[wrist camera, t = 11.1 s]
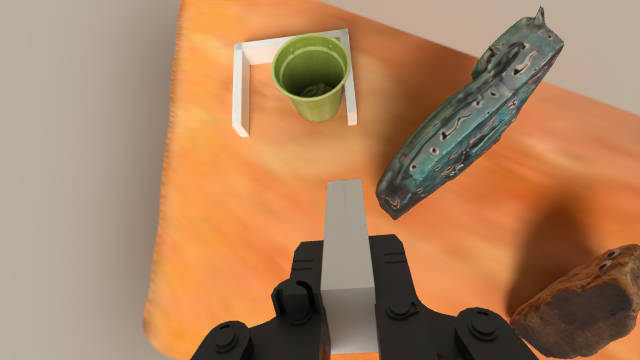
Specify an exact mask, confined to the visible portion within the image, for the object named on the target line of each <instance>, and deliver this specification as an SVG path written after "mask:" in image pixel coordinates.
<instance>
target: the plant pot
mask: <svg viewBox="0 0 640 360" xmlns="http://www.w3.org/2000/svg"><path fill="white" fill-rule="evenodd" d="M349 72H350V57H349V54H348V52H347V50H346V48H345V47H344V46H343V45H342V44H341V43H340V42H339V41H338V40H336V39H335V38H333V37H331V36H328V35H325V34H319V33H307V34H302V35H299V36H296V37H294V38H292V39H290V40H288V41H287V42H286V43H284V44H283V45H282V46H281V47H280V48H279V50H278V51H277V53H276V54H275V56H274V58H273V61H272V67H271V73H272V78H273V80H274V83H275V84H276V86H277V87H278V89H279V90H280V91H281V92H282V93H284V94H285V95H287V96H288V97H289V98H290V99H291V101H292V102H293V104H294V105H295V107H296V108H297V110H298V112H299V113H300V115H301V116H302V117H303V118H305V119H306V120H308V121H315V122H323V121H326V120H328V119H330V118H331V117H333V116H334V115H335V114H336V112H337V111H338V108H339V105H340V99H341V93H342V87H343V84H344V83H345V81H346V79H347V78H348V75H349ZM309 90H313V91H312V92H309V93H308V94H307V95H305V93H306V92H308V91H309ZM328 91H330V92H328Z"/></svg>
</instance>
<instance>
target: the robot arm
mask: <svg viewBox="0 0 640 360" xmlns="http://www.w3.org/2000/svg"><path fill="white" fill-rule="evenodd" d="M271 298H272V301H273V305H274V309H275V312H276V317H274V318H273V319H271V320H270V321H267V322H265V323H263V324H260V325H257V326H254V327H251V328H248V327H247V326H246V325H245V324H244V323H242V322H240V321H227V322H224V323H221V324H219V325H218V326H216V327H215V328H213V329H212V330H211V331H210V332H209V333H208V334H207V336H206V337H205V338H204V340H203V341H202V343H201V344H200V346H199V347H198V349H197V350H196V352H195V353H194V355H193V356H192V358H191V359H190V360H330V351H331V353H332V354H346V353H373V352H379V359H380V360H539V359H538V358H537V357H536V355H535V354H534V353H533V352H532V351H531V350H530V348H529V347H528V346H527V345H526V344H525V342H524V341H523V340H522V339H521V338H520V337H519V335H518V334H517V333H516V332H515V331H514V330H513V328H512V327H511V326H510V325H509V324H508V322H507V321H505V320H504V319H503V318H502V317H501V316H500V315H499V314H497V313H495V312H493V311H490V310H488V309H484V308H479V307H475V308H467V309H465V310H463V311H461V312H460V313H459V314H458V316H457V317H455V316H450V315H446V314H441V313H438V312H435V311H433V310H431V309H429V308H427V307H426V306H425V305H424V304H422V303H421V301H420V300H419V299H418V297H417V295H416V292H415V288H414V284H413V281H412V277H411V273H410V269H409V266H408V263H407V258H406V254H405V251H404V247H403V243H402V242H401V241H400V240H399V239H398V237H397V236H396V235H395V234H390V235H376V236H368V231H367V223H366V215H365V207H364V199H363V191H362V183H361V179H352V180H341V181H331V182H328V187H327V202H326V217H325V231H324V240H321V241H308V242H301V243H300V245H299V246H298V247H297V249H296V250H295V252H294V258H293V263H292V268H291V274H290V279H287V280H285V281H283V282H281V283H280V284H279V285H278V286H277V287H276V288H274V290H273V292H272V294H271Z"/></svg>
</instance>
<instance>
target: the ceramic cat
mask: <svg viewBox="0 0 640 360" xmlns="http://www.w3.org/2000/svg"><path fill="white" fill-rule="evenodd" d="M563 46H564V42H563V41H562V40H561V39H560V38H559V37H558V36H557V35H556V34H555V33H554V32H553V31H551V29H549V28H548V27H547V26H546V24H545V20H544V11H543V8H542V7H541V6H540V9H539V11H538V13H537V15H536V17H535V18H531V17H524V18H522V19H520V20H519V21H518V22H516V23H515V24H514V25H513V26H511V27H510V28H509V29H508V30H507V31H506V32H505V33H503V34H502V35H501V36H500V37H499V38H498V39H497V40H496V41H495V42H494V43H493V44H492V45H491V46H489V48H488V49H487V50H486V52H485V53H484V54H483V55H482V57H481V58H480V60H479V61H478V63H477V65H476V67H475V69H474V71H473V72H472V74H471V75H472V79H473V81H472V82H471V83H470V84H468V85H467V86H465V87H464V88H463V89H461V90H460V91H458V92H457V93H455V94H454V95H453V96H451V97H450V98H449V99H448V100H447V101H445V102H444V103H443V104H442V105H441V106H440V107H439V108H438V109H437V110H435V111H434V112H433V113H432V114H431V115H430V116H429V117H428V118H427V119H426V120H425V121H424V122H423V123H422V124H421V125H420V126H419V128H418V129H417V130H416V131H415V132H414V133H413V134H412V135H411V137H410V138H409V139H408V140H407V141H406V143H405V144H404V145H403V147H402V148H401V149H400V151H399V152H398V153H397V155H396V156H395V157H394V159H393V160H392V162H391V163H390V164H389V166H388V167H387V169H386V170H385V172H384V174H383V175H382V177H381V179H380V180H379V182H378V185H377V189H376V197H377V198H378V201H379V204H380V207H381V208H382V209H383V210H384V211H386V212H387V213H388V214H389V215H390V216H391V217H392V218H393V219H394V220H397V219H398V218H399V217H400V216H402V215H403V214H405V213H406V212H407V211H409V210H410V209H411V208H412V207H413V206H415V205H416V204H417V203H419V202H420V201H422V200H423V199H425V198H426V197H427V196H429V195H430V194H432V193H433V192H434V191H436V190H437V189H438V188H439V187H441V186H442V185H444V184H445V183H446V182H448V181H450V180H453V179H454V178H456V177H457V176H458V175H459V174H460V173H462V172H463V171H464V170H465V169H466V168H468V167H469V166H470V165H471V164H472V163H473V162H474V161H476V160H477V159H478V158H479V157H481V156H482V155H483V154H484V153H485V152H486V151H487V150H489V149H490V148H491V147H492V146H493V145H494V144H496V143H497V142H498V141H499V140H500V138H501V136H502V134H503V133H504V132H505V131H506V130H507V128H508V127H509V126H510V124H511V123H512V122H514V121H515V119H516V118H517V116H518V114H519V112H520V110H521V109H522V107H523V105H524V104H525V102H526V101H527V99H528V98H529V97H530V95H531V94H532V93H533V91H534V90H535V89H536V87H537V86H538V84H539V83H540V82H541V80H542V79H543V77H544V76H545V75H546V73H547V72H548V71H549V69H550V68H551V67H552V65H553V63H554V62H555V60H556V58H557V57H558V55H559V54H560V52H561V50H562V48H563Z"/></svg>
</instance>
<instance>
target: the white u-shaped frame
mask: <svg viewBox="0 0 640 360" xmlns="http://www.w3.org/2000/svg"><path fill="white" fill-rule="evenodd" d="M319 34H325V35H328V36H331V37H333V38H335V39H336V40H338V41H339V42H340V43H341V44H342V45H343V46H344V47H345V48H346V50H347V52H348V54H349V57H350V72H349V75H348V78H347V79H346V81H345V83H344V86H345V96H346V107H347V117H348V126H349V125H357V110H356V100H355V91H354V81H353V72H352V63H351V53H350V44H349V34H348V29H341V30H334V31H326V32H319ZM297 36H299V35H297ZM294 37H296V36H289V37H282V38H274V39H267V40H260V41H252V42H245V43H237V44H234V74H233V111H232V126H233V128H234V129H235V130H236V131H237V133H238V134H239V135H240V136H241V137H247V136H249V120H250V65H255V64H263V63H271V62H272V61H273V58H274V56H275V54H276V53H277V51H278V50H279V48H280V47H281V46H282V45H283V44H284V43H286V42H287V41H288V40H290V39H292V38H294Z"/></svg>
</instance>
